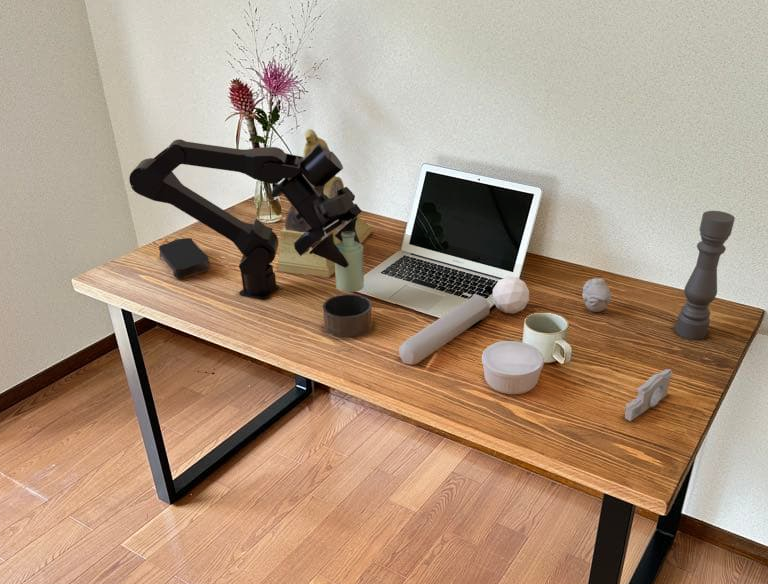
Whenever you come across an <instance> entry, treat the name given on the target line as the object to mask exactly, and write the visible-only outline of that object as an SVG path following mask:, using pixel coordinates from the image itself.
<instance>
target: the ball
mask: <svg viewBox="0 0 768 584" xmlns="http://www.w3.org/2000/svg"><path fill="white" fill-rule="evenodd" d="M492 300H493V303H494V305H495V307H496V309H498V310H500V311H501V312H503V313H505V314H517V313H518V312H521V311H523V310H524V309H525V308H526V307H527V304H529V302H530V290H529V288H528V286H527V283H526V282H525V281H523V280H522V279H520V278H519V277H517V276H506V277H504V278H502V279H499V280H498V281H497V282H496V284H495V286H494V287H493V288H492Z"/></svg>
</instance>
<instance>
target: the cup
mask: <svg viewBox="0 0 768 584" xmlns="http://www.w3.org/2000/svg"><path fill="white" fill-rule="evenodd" d="M321 309H322V320H323V321H322V322H323V328H324V331H325V332H326V333H328V334H329V335H331V336H333V337H336V338H343V339H350V338H351V339H352V338H358V337H361V336H363V335H366V334H367V333H369V332H370V331H371V330H372V328H373V304H372V302H371V300H370V299H368V298H367V297H366V296H363V295H360V294H353V293H343V294H338V295H334V296H331V297H329V298H328V299H326V300H325V301H324V302H323V303H322V308H321Z"/></svg>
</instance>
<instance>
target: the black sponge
mask: <svg viewBox="0 0 768 584" xmlns="http://www.w3.org/2000/svg"><path fill="white" fill-rule="evenodd" d="M158 250H159V258H160V260H162V261H164V263H165V264H166V266H167V267H169V270H170V271H171V272H172V275H173V277H174V278H175V279H178V280H182V279H185V278H188V277H191V276H195V275H197V274H201V273H205V272H207V271H209V270H210V269H211V262H210V259H209V256H208V255H207V254H206V253H205V252H204V251H203V250H202V249H201V248H200V247H199V246H198V245H197V243H196V242H194V240H193V238H191V237H186V238H177V239H174V240H172V241H170V242H166V243H164V244H161V245H159V247H158Z"/></svg>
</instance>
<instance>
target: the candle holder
mask: <svg viewBox="0 0 768 584" xmlns="http://www.w3.org/2000/svg"><path fill="white" fill-rule="evenodd" d="M735 220H736V219H735V216H734V215H732V214H731V213H729V212H725V211H720V210H706V211H704V212H703V213H702V215H701V221H700V225H699V228H698V230H699V235H700V239H701V240H700V241H699V242H698V243H697V244H696V248H697V250H698V256H697V260H696V263H695V267H694V268H693V270H692V272H691V274H690V276H689V278H688V280H687V282H686V283H685V286H684V291H683V293H684V295H685V299H686V303H685V304H684V305H682V306H681V308H680V312H679V313H678V315H677V319H676V323H675V327H674V330H675V333H676V334H677V335H678V336H680V337H682V338H685V339H689V340H702V339H705V338H706V336H707V335H708V330H709V327H710V323H711V319H710V316H711V310H710V309H709V306H710V304H711V303H712V302H713V301H714V300H715V298H716V297H717V295H718V266H719V261H720V259H721V258H720V257H721V256H722V255H723V254H725V251H726V250H727V249H726V246H725V245H724V244H725V243H726V242H727V241H728V239H729V237H730V236H731V235H732V231H733V229H734V228H733V227H734V223H735Z"/></svg>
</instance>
